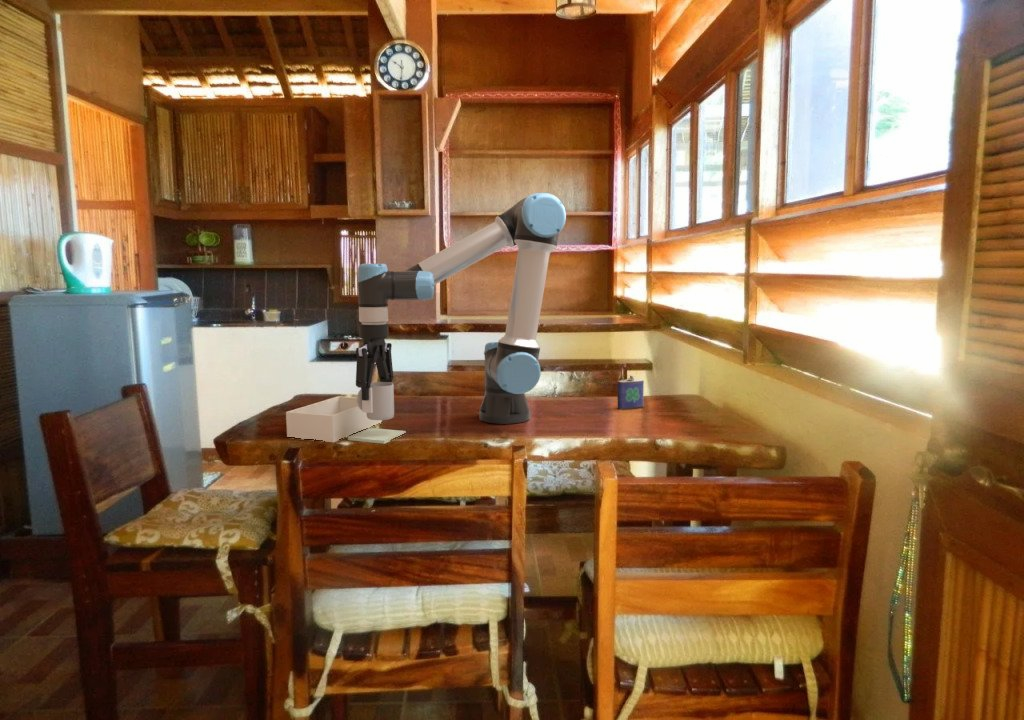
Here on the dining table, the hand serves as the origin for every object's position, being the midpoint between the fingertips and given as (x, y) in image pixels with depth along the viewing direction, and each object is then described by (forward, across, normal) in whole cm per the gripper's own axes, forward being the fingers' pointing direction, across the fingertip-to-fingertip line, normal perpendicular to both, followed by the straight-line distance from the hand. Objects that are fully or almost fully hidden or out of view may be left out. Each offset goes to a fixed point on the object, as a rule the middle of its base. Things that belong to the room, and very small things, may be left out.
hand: (375, 409), depth 181 cm
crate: (+8, -3, -15) cm, 17 cm away
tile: (+8, 0, 0) cm, 8 cm away
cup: (+2, 0, 0) cm, 2 cm away
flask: (+7, -59, +56) cm, 82 cm away
